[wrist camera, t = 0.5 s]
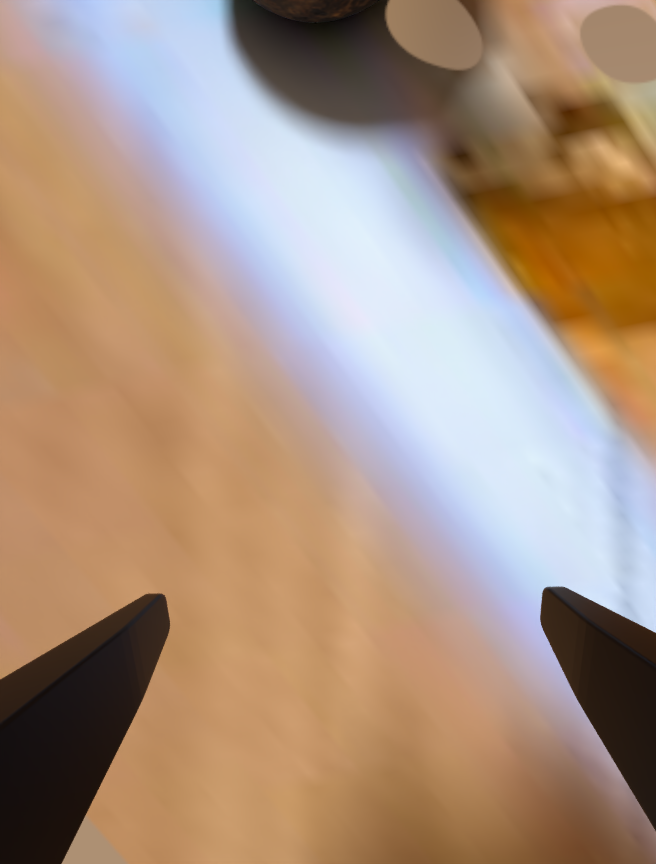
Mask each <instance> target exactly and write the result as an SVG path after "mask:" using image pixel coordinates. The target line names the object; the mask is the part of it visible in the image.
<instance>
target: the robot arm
mask: <svg viewBox="0 0 656 864" xmlns="http://www.w3.org/2000/svg"><path fill="white" fill-rule="evenodd" d="M540 620H541V625H542V628H543V631H544V633H545V635H546V637H547V639H548V641H549V643H550V645H551V647H552V649H553V651H554V653H555V655H556V657H557V659H558V662H559V664H560V666H561V668H562V670H563V672H564V674H565V676H566V678H567V680H568V682H569V684H570V686H571V688H572V690H573V692H574V694H575V696H576V698H577V700H578V702H579V703H580V705H581V707H582V709H583V710H584V712H585V714H586V715H587V717H588V719H589V720H590V722H591V724H592V725H593V727H594V729H595V730H596V732H597V734H598V735H599V737H600V739H601V740H602V742H603V744H604V745H605V747H606V749H607V750H608V752H609V754H610V755H611V757H612V759H613V760H614V762H615V764H616V765H617V767H618V769H619V770H620V772H621V774H622V775H623V777H624V779H625V780H626V782H627V784H628V785H629V787H630V789H631V790H632V792H633V794H634V795H635V797H636V799H637V801H638V802H639V804H640V806H641V807H642V809H643V811H644V812H645V814H646V816H647V817H648V819H649V821H650V822H651V824H652V826H653V827H654V829H655V831H656V633H655V632H653V631H651V630H649V629H647V628H645V627H643V626H641V625H639V624H637V623H635V622H633V621H631V620H629V619H627V618H625V617H623V616H621V615H619V614H617V613H615V612H613V611H611V610H609V609H607V608H605V607H603V606H601V605H599V604H597V603H595V602H593V601H591V600H589V599H587V598H585V597H583V596H581V595H579V594H577V593H575V592H573V591H571V590H570V589H568V588H565V587H546V588H545V589H544V590H543V593H542V604H541V615H540ZM169 629H170V619H169V613H168V607H167V601H166V597H165V595H163V594H146V595H144V596H142V597H140V598H139V599H137V600H135V601H133V602H132V603H130V604H128V605H127V606H125V607H123V608H122V609H120V610H118V611H116V612H115V613H113V614H111V615H110V616H108V617H106V618H104V619H103V620H101V621H99V622H98V623H96V624H94V625H93V626H91V627H89V628H87V629H86V630H84V631H82V632H81V633H79V634H77V635H75V636H74V637H72V638H70V639H69V640H67V641H65V642H64V643H62V644H60V645H58V646H57V647H55V648H53V649H52V650H50V651H48V652H46V653H45V654H43V655H41V656H40V657H38V658H36V659H35V660H33V661H31V662H29V663H28V664H26V665H24V666H23V667H21V668H19V669H17V670H16V671H14V672H12V673H11V674H9V675H7V676H6V677H4V678H2V679H0V864H61V863H62V862H63V860H64V858H65V856H66V854H67V852H68V850H69V847H70V845H71V843H72V841H73V840H74V837H75V836H76V833H77V831H78V829H79V827H80V825H81V823H82V821H83V819H84V817H85V815H86V813H87V811H88V809H89V807H90V805H91V803H92V801H93V799H94V797H95V795H96V793H97V791H98V789H99V787H100V785H101V783H102V781H103V779H104V777H105V775H106V773H107V771H108V769H109V767H110V765H111V763H112V761H113V759H114V757H115V755H116V753H117V751H118V749H119V747H120V745H121V743H122V741H123V739H124V737H125V735H126V733H127V731H128V729H129V727H130V725H131V723H132V721H133V719H134V717H135V715H136V713H137V710H138V708H139V706H140V704H141V702H142V700H143V697H144V695H145V693H146V690H147V688H148V685H149V683H150V680H151V677H152V675H153V672H154V670H155V667H156V664H157V662H158V659H159V657H160V654H161V652H162V649H163V646H164V644H165V641H166V639H167V636H168V633H169Z"/></svg>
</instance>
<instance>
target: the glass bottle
mask: <svg viewBox="0 0 656 864" xmlns="http://www.w3.org/2000/svg"><path fill="white" fill-rule="evenodd" d="M253 1H254V2H255V3H256V4H258V5H260V6H261V7H263V8H265V9H266V10H268V11H270V12H272V13H275V14H277V15H279V16H282V17H285V18H288V19H291V20H296V21H302V22H314V23H317V22H328V21H334V20H338V19H342V18H346V17H348V16H351V15H353V14H355V13H358V12H360V11H362V10H364V9H366V8H368V7H370V6H371V5H373V4H374V3H376V2H378V1H379V0H253Z"/></svg>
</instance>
